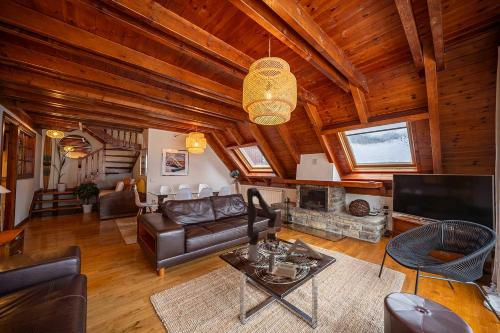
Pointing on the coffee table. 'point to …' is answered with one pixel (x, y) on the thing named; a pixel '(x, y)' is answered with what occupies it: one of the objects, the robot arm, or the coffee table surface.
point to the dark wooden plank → (271, 262)
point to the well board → (284, 270)
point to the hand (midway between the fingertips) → (271, 248)
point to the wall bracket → (308, 250)
